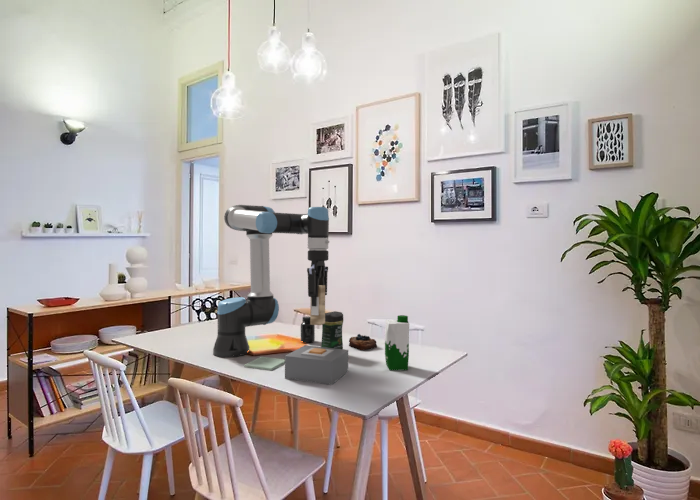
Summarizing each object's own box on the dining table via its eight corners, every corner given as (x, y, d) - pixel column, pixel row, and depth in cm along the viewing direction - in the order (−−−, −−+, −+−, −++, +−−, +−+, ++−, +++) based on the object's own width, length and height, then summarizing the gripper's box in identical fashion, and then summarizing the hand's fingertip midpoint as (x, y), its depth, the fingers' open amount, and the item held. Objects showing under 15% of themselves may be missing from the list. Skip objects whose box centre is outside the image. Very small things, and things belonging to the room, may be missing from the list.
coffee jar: (331, 359, 168) (332, 314, 168) (317, 355, 173) (318, 312, 173) (346, 354, 176) (346, 311, 175) (332, 351, 181) (332, 309, 180)
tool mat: (244, 366, 157) (244, 364, 157) (261, 358, 168) (261, 356, 168) (271, 370, 153) (271, 368, 153) (287, 361, 164) (287, 359, 164)
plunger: (309, 364, 147) (309, 350, 147) (314, 361, 151) (314, 347, 151) (320, 366, 145) (320, 352, 145) (325, 362, 150) (325, 349, 149)
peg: (310, 324, 147) (310, 285, 146) (315, 322, 150) (315, 284, 150) (320, 325, 145) (320, 286, 145) (325, 323, 149) (325, 285, 149)
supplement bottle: (316, 340, 199) (317, 316, 199) (311, 344, 193) (311, 318, 193) (304, 339, 202) (304, 315, 201) (298, 342, 195) (298, 317, 195)
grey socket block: (284, 378, 144) (284, 354, 144) (305, 365, 159) (305, 344, 159) (331, 384, 138) (331, 360, 137) (348, 371, 153) (348, 348, 153)
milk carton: (410, 370, 154) (411, 318, 153) (387, 371, 153) (387, 318, 152) (405, 364, 162) (406, 314, 162) (383, 364, 161) (383, 314, 161)
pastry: (365, 343, 196) (365, 331, 196) (380, 348, 186) (380, 336, 186) (346, 346, 190) (346, 333, 190) (360, 352, 180) (360, 338, 180)
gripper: (317, 250, 138) (317, 318, 138) (336, 249, 154) (336, 311, 154) (297, 249, 141) (297, 317, 141) (318, 249, 157) (318, 309, 157)
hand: (317, 313), depth 148 cm, fingers closed on peg, 4 cm apart
